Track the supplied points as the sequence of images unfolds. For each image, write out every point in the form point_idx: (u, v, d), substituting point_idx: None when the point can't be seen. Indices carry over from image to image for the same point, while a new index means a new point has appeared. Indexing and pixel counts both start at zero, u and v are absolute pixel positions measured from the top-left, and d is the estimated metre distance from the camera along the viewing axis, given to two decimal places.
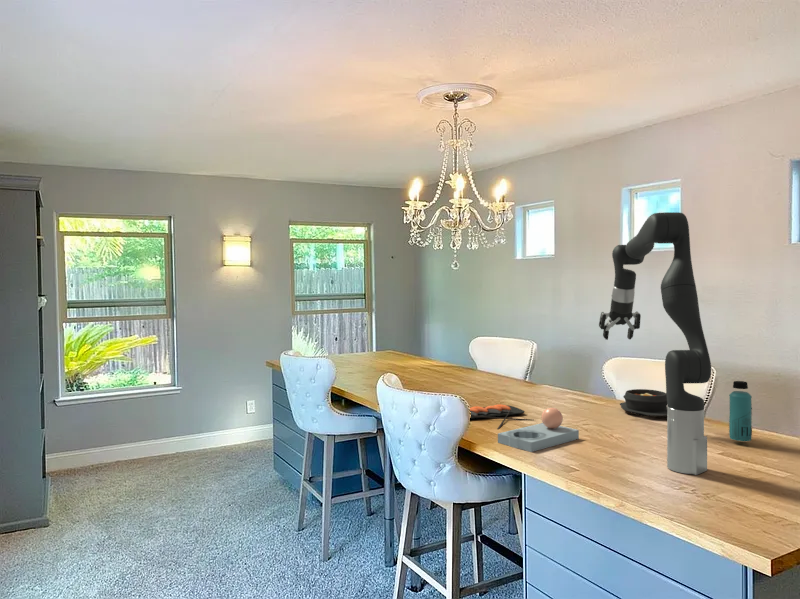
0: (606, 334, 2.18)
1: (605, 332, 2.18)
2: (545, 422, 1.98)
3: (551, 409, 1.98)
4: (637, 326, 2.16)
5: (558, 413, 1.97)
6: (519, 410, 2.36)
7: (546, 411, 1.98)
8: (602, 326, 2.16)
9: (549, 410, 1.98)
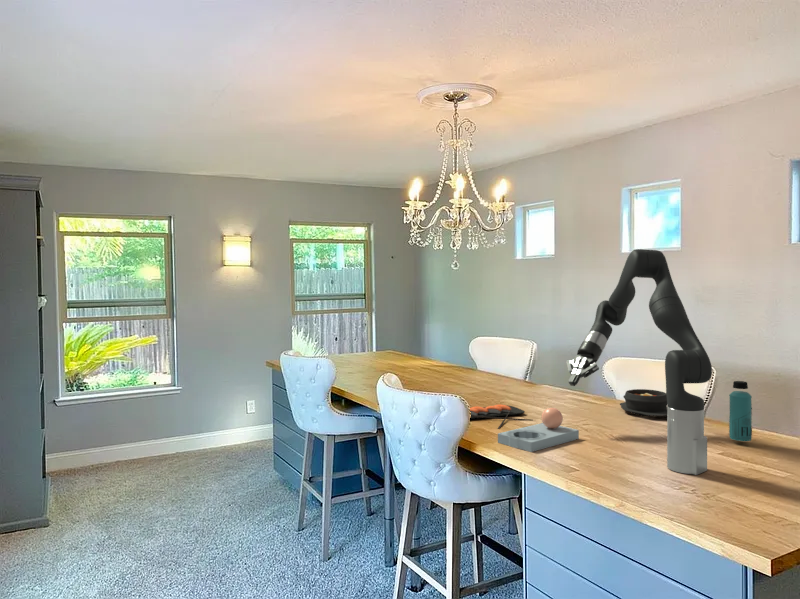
0: (571, 377, 2.07)
1: (571, 376, 2.07)
2: (545, 422, 1.98)
3: (551, 409, 1.98)
4: (582, 370, 2.05)
5: (558, 413, 1.97)
6: (519, 410, 2.36)
7: (546, 411, 1.98)
8: (570, 368, 2.09)
9: (549, 410, 1.98)
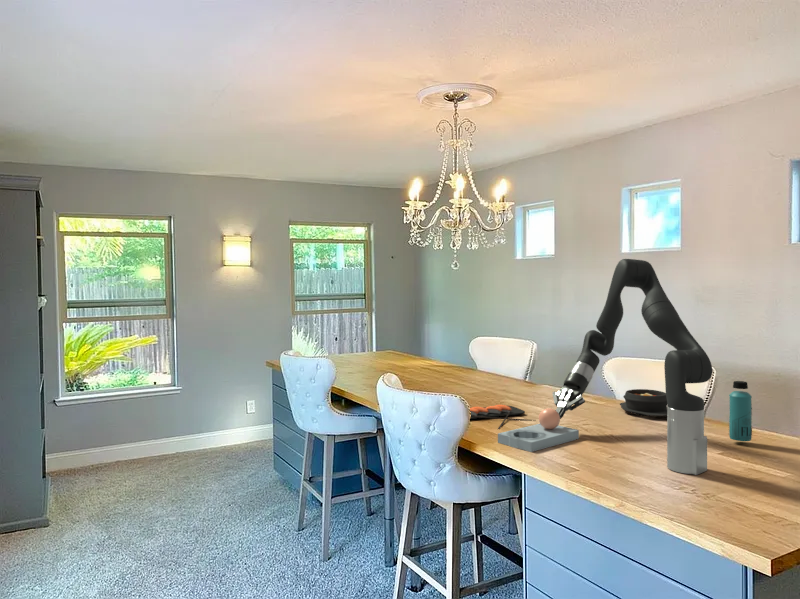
0: (557, 410, 2.02)
1: (557, 409, 2.03)
2: (543, 424, 1.97)
3: (547, 410, 1.97)
4: (568, 403, 2.01)
5: (555, 414, 1.96)
6: (519, 410, 2.36)
7: (543, 413, 1.97)
8: (556, 401, 2.05)
9: (545, 412, 1.97)
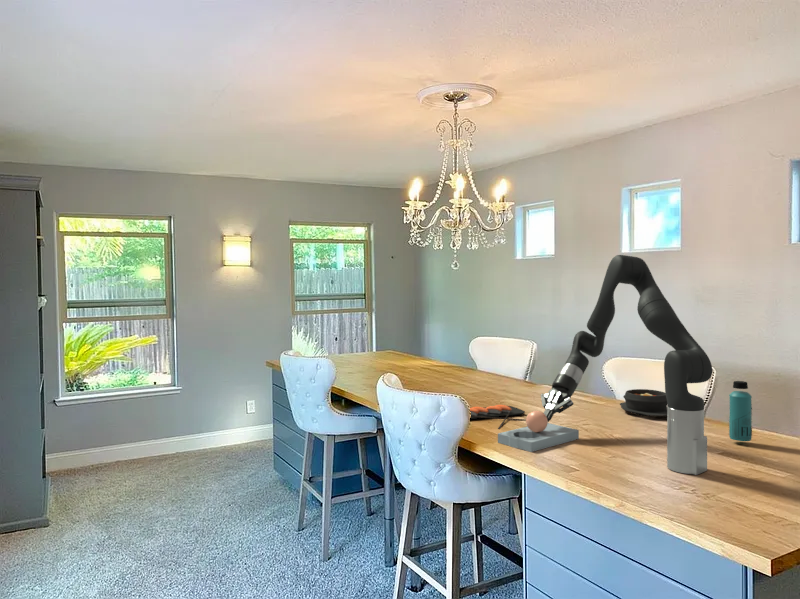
0: (545, 412, 1.98)
1: (545, 411, 1.99)
2: (532, 430, 1.94)
3: (532, 417, 1.93)
4: (556, 406, 1.97)
5: (540, 418, 1.92)
6: (519, 410, 2.36)
7: (528, 421, 1.93)
8: (544, 403, 2.01)
9: (531, 419, 1.93)
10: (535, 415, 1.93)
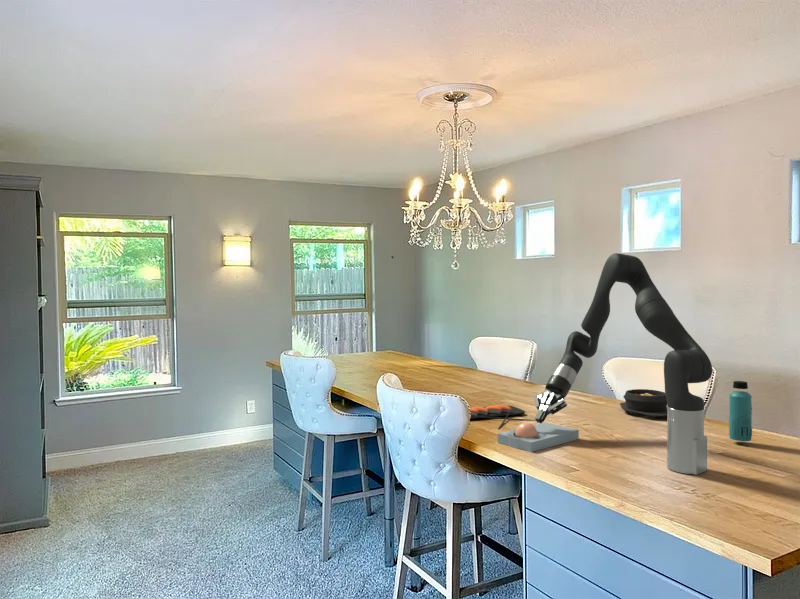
0: (538, 414, 1.96)
1: (538, 412, 1.97)
2: None
3: None
4: (549, 407, 1.95)
5: None
6: (519, 410, 2.36)
7: None
8: (538, 404, 1.99)
9: None
10: None
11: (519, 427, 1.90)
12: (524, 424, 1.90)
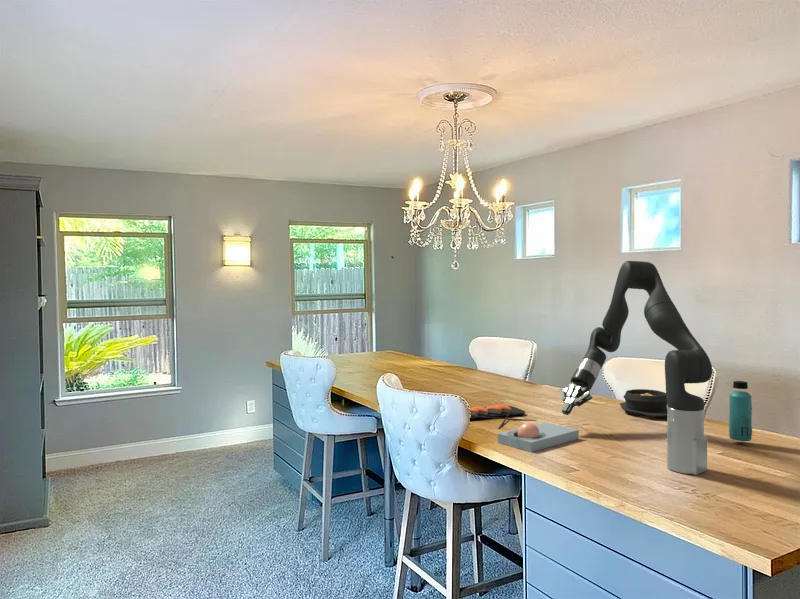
0: (564, 406, 2.05)
1: (564, 405, 2.05)
2: None
3: None
4: (575, 399, 2.03)
5: None
6: (520, 410, 2.36)
7: None
8: (564, 397, 2.07)
9: None
10: None
11: (523, 425, 1.90)
12: (529, 424, 1.90)
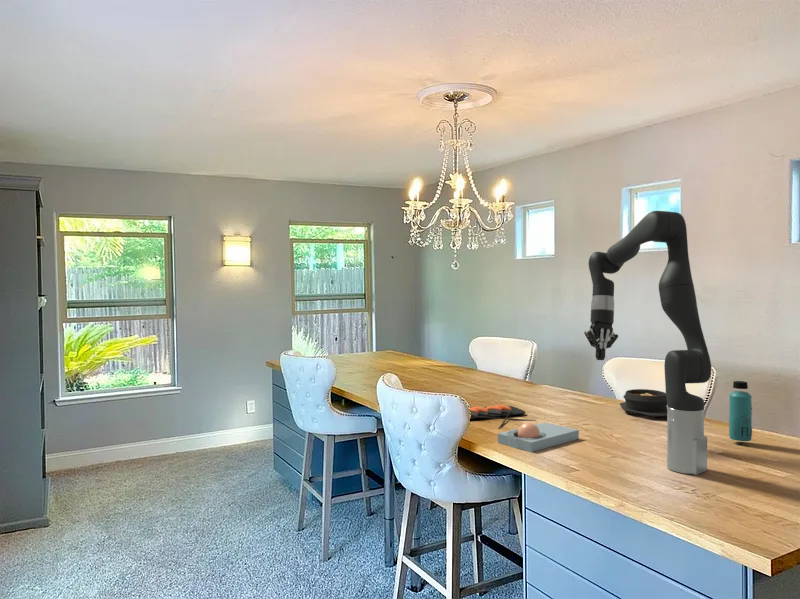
0: (600, 353, 2.00)
1: (599, 351, 2.00)
2: None
3: None
4: (608, 344, 2.01)
5: None
6: (520, 410, 2.36)
7: None
8: (596, 342, 1.99)
9: None
10: None
11: (523, 425, 1.90)
12: (529, 424, 1.90)
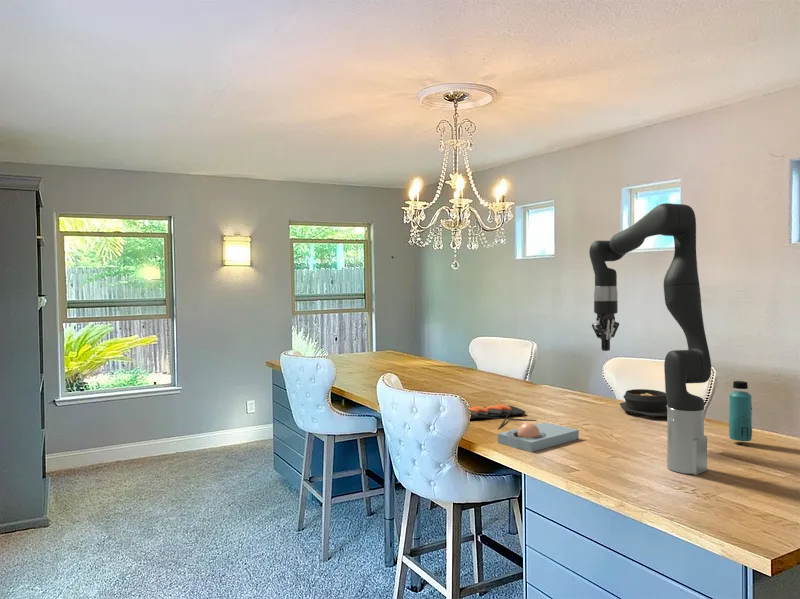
0: (606, 344, 1.99)
1: (605, 342, 1.99)
2: None
3: None
4: (612, 334, 2.01)
5: None
6: (520, 410, 2.36)
7: None
8: (604, 334, 1.98)
9: None
10: None
11: (523, 425, 1.90)
12: (528, 424, 1.90)
